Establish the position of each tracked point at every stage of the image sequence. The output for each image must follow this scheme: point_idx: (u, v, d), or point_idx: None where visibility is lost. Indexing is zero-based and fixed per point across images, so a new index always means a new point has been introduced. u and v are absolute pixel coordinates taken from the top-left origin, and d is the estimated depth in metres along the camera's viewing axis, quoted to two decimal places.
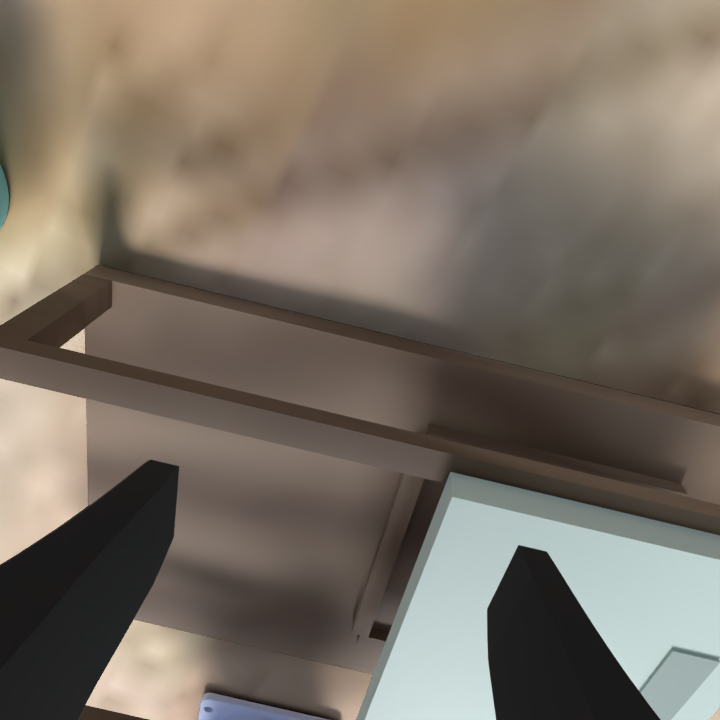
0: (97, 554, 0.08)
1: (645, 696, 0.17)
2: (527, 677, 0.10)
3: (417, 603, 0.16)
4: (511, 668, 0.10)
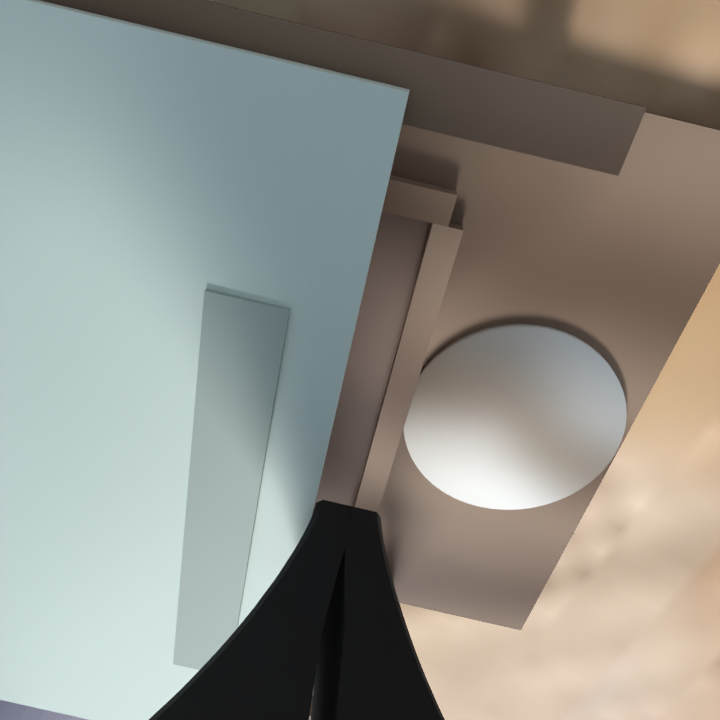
0: (327, 607, 0.08)
1: (205, 402, 0.10)
2: (329, 632, 0.10)
3: None
4: (325, 626, 0.10)
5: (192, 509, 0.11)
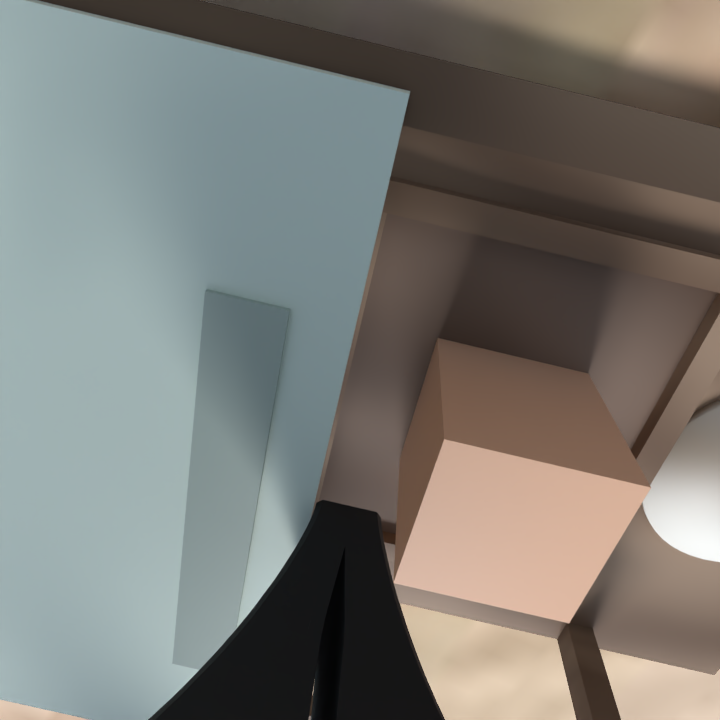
0: (327, 607, 0.08)
1: (206, 402, 0.10)
2: (330, 632, 0.10)
3: None
4: (326, 626, 0.10)
5: (192, 509, 0.11)
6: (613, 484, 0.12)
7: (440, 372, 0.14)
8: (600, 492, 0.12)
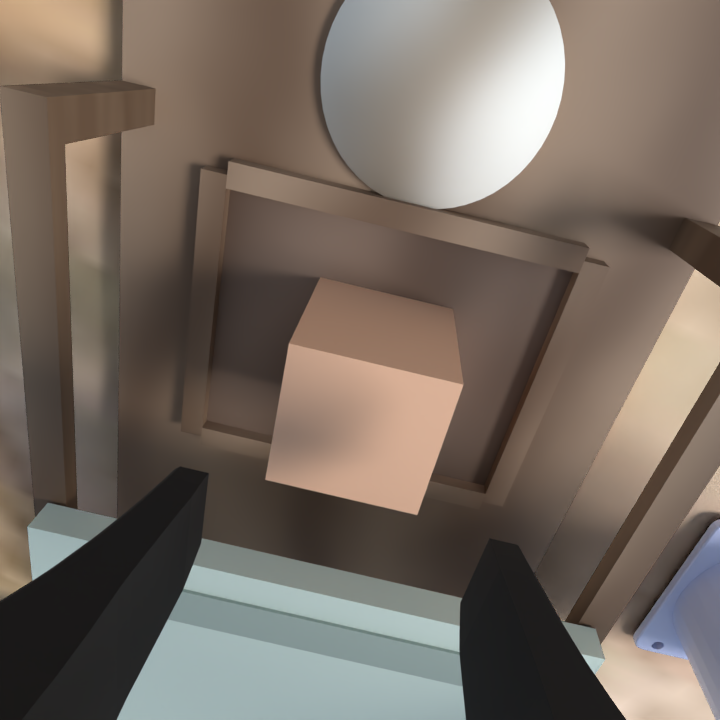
0: (136, 563, 0.08)
1: (213, 625, 0.17)
2: (493, 669, 0.10)
3: None
4: (479, 661, 0.10)
5: (297, 646, 0.17)
6: (290, 369, 0.14)
7: None
8: (299, 378, 0.14)
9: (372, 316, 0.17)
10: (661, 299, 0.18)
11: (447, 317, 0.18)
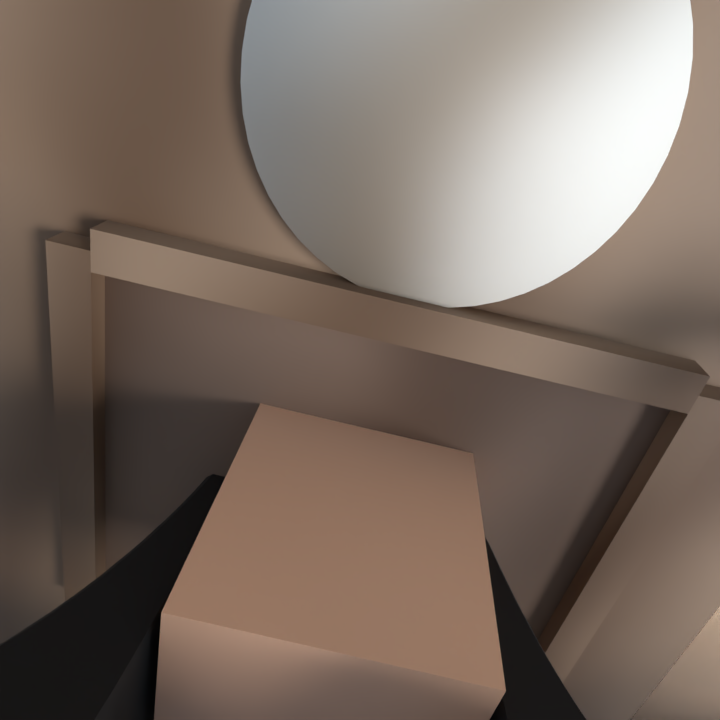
0: None
1: None
2: None
3: None
4: None
5: None
6: (171, 649, 0.07)
7: None
8: (189, 663, 0.08)
9: (337, 494, 0.10)
10: None
11: (464, 476, 0.11)
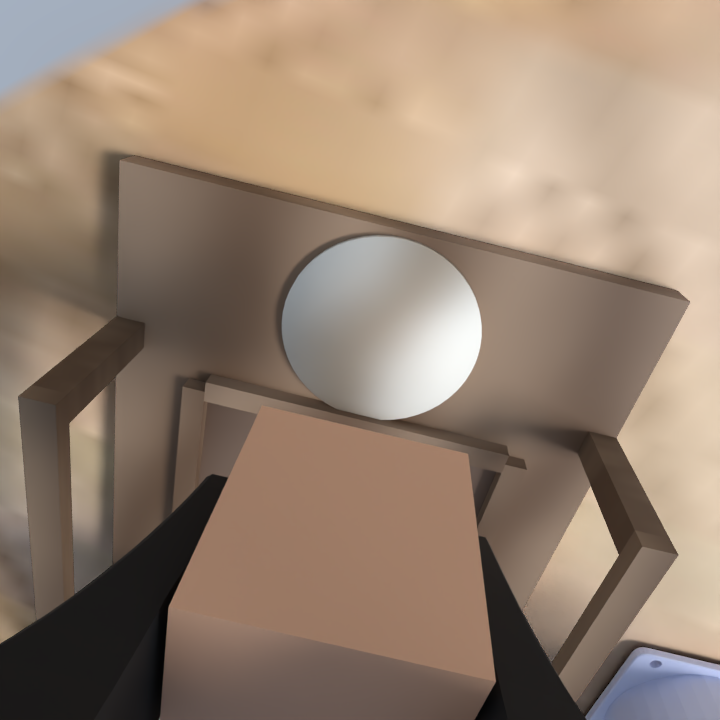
0: (180, 573, 0.08)
1: None
2: None
3: None
4: None
5: None
6: (177, 641, 0.08)
7: None
8: (194, 655, 0.08)
9: (337, 494, 0.10)
10: (574, 488, 0.21)
11: (459, 475, 0.11)
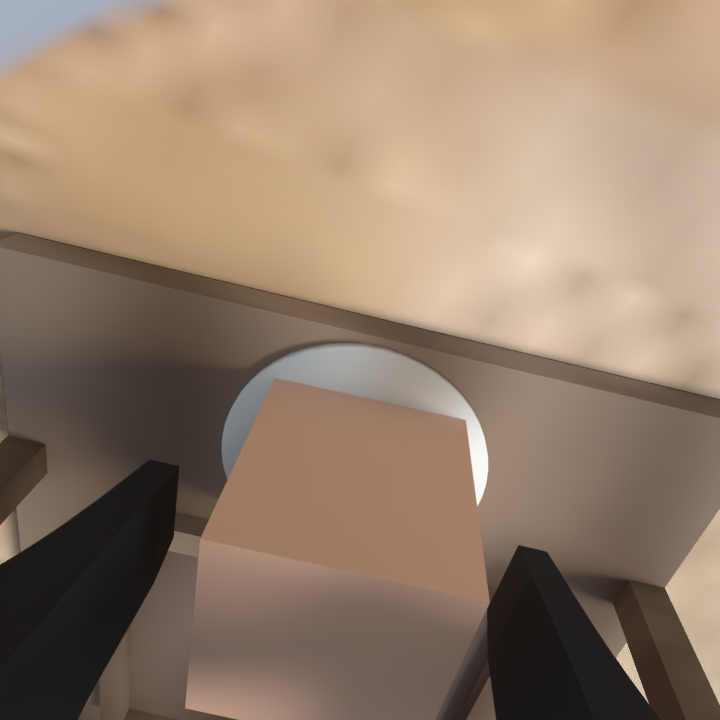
0: (97, 554, 0.08)
1: None
2: (527, 677, 0.10)
3: None
4: (511, 668, 0.10)
5: None
6: (207, 573, 0.09)
7: None
8: (222, 585, 0.09)
9: (345, 452, 0.11)
10: (607, 642, 0.16)
11: (458, 437, 0.12)
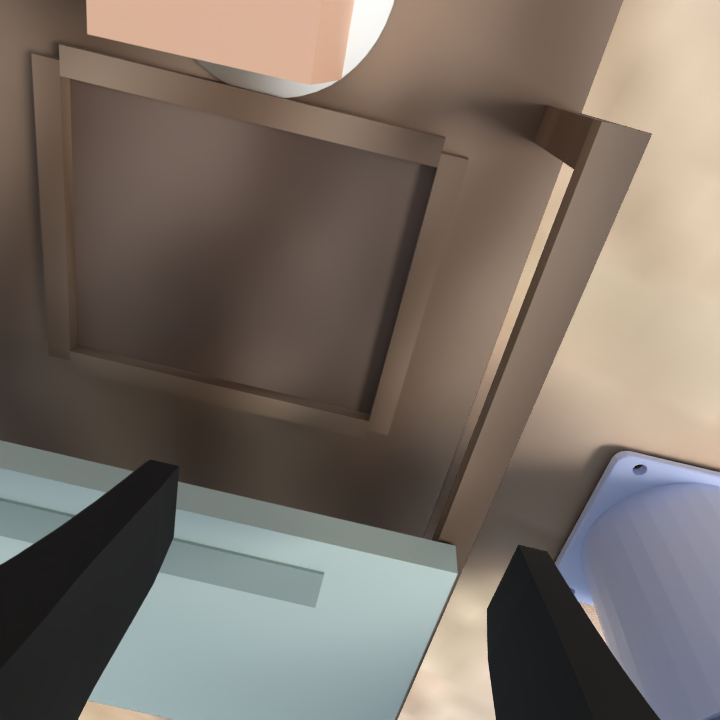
0: (97, 554, 0.08)
1: None
2: (527, 677, 0.10)
3: None
4: (511, 668, 0.10)
5: None
6: None
7: None
8: None
9: None
10: (531, 199, 0.17)
11: None
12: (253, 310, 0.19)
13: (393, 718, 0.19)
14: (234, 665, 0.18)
